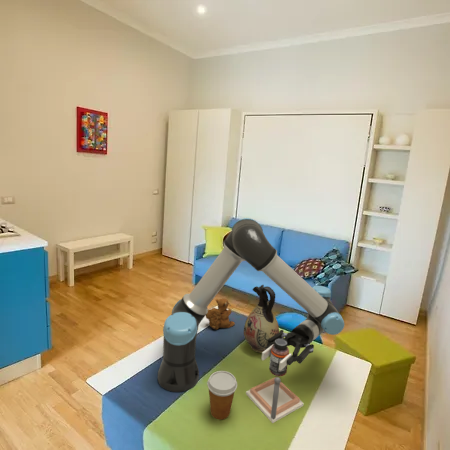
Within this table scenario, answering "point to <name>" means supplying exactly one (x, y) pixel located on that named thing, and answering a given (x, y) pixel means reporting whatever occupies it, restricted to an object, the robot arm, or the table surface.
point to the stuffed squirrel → (220, 315)
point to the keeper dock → (269, 400)
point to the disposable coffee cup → (221, 393)
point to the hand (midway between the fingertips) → (271, 361)
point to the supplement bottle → (278, 357)
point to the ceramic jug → (261, 320)
